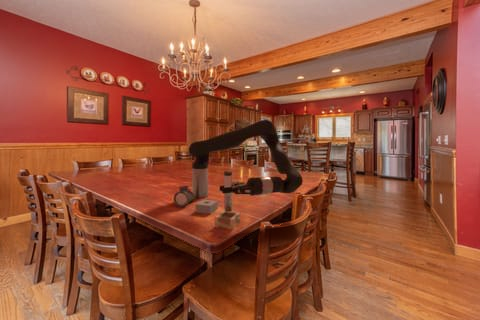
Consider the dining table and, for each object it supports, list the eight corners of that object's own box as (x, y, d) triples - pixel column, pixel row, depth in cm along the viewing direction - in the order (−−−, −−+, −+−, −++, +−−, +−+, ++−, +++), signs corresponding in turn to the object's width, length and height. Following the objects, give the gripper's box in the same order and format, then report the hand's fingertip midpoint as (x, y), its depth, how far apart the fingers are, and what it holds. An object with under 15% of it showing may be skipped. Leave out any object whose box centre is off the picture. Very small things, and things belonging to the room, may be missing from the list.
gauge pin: (226, 208, 89) (225, 171, 88) (233, 209, 88) (233, 171, 86) (223, 211, 86) (222, 172, 84) (230, 212, 85) (230, 172, 83)
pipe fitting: (187, 207, 108) (186, 186, 108) (173, 207, 109) (172, 187, 110) (197, 202, 119) (196, 184, 120) (184, 203, 121) (183, 185, 121)
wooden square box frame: (222, 219, 93) (222, 210, 92) (240, 221, 90) (240, 212, 90) (214, 226, 85) (214, 217, 85) (233, 229, 83) (233, 219, 82)
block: (203, 207, 109) (203, 199, 109) (217, 208, 107) (217, 201, 106) (195, 212, 102) (195, 204, 101) (210, 214, 99) (210, 205, 99)
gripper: (253, 174, 97) (216, 177, 91) (267, 180, 84) (226, 183, 78) (252, 190, 98) (216, 194, 92) (267, 198, 85) (226, 203, 79)
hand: (221, 189), depth 85 cm, fingers closed on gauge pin, 3 cm apart
